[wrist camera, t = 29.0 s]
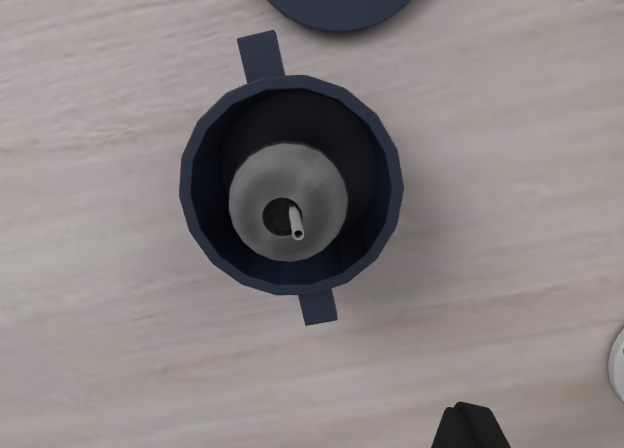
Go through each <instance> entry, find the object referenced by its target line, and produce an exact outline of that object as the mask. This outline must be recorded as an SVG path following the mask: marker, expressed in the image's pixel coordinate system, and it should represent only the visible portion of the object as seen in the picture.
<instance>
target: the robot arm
mask: <svg viewBox="0 0 624 448" xmlns="http://www.w3.org/2000/svg"><path fill="white" fill-rule="evenodd" d="M608 374H609V380H610V383H611V385H612V387H613V390H614V391H615V393H616V394H617V396H618V397H619V398H620V399H621V400H622V402H623V403H624V328H623V330H622V331H621V332H620V333H619V335H618V336H617V338H616V340H615V342H614V344H613V346H612V348H611V352H610V355H609V360H608ZM431 448H511V447H510V445H509V443H508V441H507V439H506V437H505V436H504V434H503V432H502V430H501V428H500V426H499V424H498V422H497V420H496V419H495V417H494V415H493V413H492V411H491V410H490V409H489V408H487V407H483V406H478V405H474V404H469V403H465V402H457V403H456V405H455V406H454V408H451V407H448V408H446V409H445V411H444V413H443V416H442V419H441V422H440V425H439V427H438V430H437V433H436V436H435V438H434V441H433V444H432V447H431Z"/></svg>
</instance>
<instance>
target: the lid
mask: <svg viewBox="0 0 624 448" xmlns="http://www.w3.org/2000/svg"><path fill="white" fill-rule="evenodd" d="M268 1H269V2H270V3H271V4H272V5H273V6H274V7H275V8H277V9H278V10H279V11H280V12H282V13H283V14H284V15H286V16H287V17H289V18H291V19H292V20H294V21H296V22H298V23H300V24H302V25H305V26H307V27H310V28H314V29H317V30H321V31H330V32H349V31H355V30H361V29H364V28H368V27H371V26H374V25H376V24H378V23H380V22H382V21H385V20H386V19H388V18H390V17H391V16H393V15H394V14H396V13H398V12H399V11H400V10H401V9H402V8H404V7H405V6H406V5H407V4H408V3H409V2H410V1H411V0H268Z"/></svg>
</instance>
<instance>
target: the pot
mask: <svg viewBox="0 0 624 448" xmlns="http://www.w3.org/2000/svg"><path fill="white" fill-rule="evenodd" d="M237 42H238V46H239V50H240V55H241V59H242V63H243V67H244V71H245V75H246V80H247V83H248V84H245V85H243V86H241V87H239V88H236V89H234V90H232V91H229V92H227V93H226V94H224V95H223V96H222V97H221V98H220V99H219V100H218V101H217V102H216V103H215V104H214V105H213V106H212V107H211V108H210V109H209V110H208V111H207V112H206V113H205V114H204V115H203V116H202V117H201V118H200V119H199V120H198V122H197V124H196V126H195V128H194V130H193V133H192V135H191V137H190V139H189V141H188V144H187V146H186V148H185V150H184V153H183V155H182V158H181V173H180V189H179V195H180V196H179V198H180V201H181V204H182V208H183V211H184V215H185V218H186V221H187V225H188V228H189V231H190V233H191V234H192V236H193V237H194V239H195V240H196V241H197V243H198V244H199V246H200V247H201V248H202V250H203V251H204V253H205V254H206V255H207V257H208V258H209V260H210V261H211V262H212V263H213V264H214V265H215V266H217V267H218V268H219V269H221V270H222V271H224V272H225V273H226V274H228V275H229V276H231V277H232V278H233V279H235V280H236V281H238V282H239V283H240V284H242V285H245V286H248V287H251V288H255V289H258V290H261V291H264V292H268V293H271V294H274V295H298V297H299V301H300V305H301V309H302V313H303V318H304V322H305V325H306V326H308V325H313V324H319V323H324V322H330V321H335V320H337V319H338V317H337V310H336V305H335V301H334V296H333V292H332V288H334V287H336V286H339V285H342V284H345V283H348V282H349V281H350V280H352V279H353V278H354V277H355V276H357V275H358V274H359V273H360V272H361V271H363V270H364V269H365V268H366V267H368V266H369V265H370V264H371V263H372V262H374V261H375V260H376V259H377V258H378V256H379V255H380V253H381V251H382V250H383V248H384V246H385V245H386V243H387V241H388V240H389V238H390V236H391V235H392V233H393V232H394V230H395V228H396V226H397V222H398V217H399V212H400V207H401V201H402V196H403V191H404V186H403V180H402V174H401V168H400V162H399V156H398V151H397V148H396V146H395V145H394V143H393V141H392V140H391V138H390V136H389V134H388V133H387V131H386V129H385V127H384V126H383V124H382V122H381V120H380V119H379V117H378V116H377V114H376V113H375V112H373V111H372V110H371V109H370V108H369V107H367V106H366V105H365V104H364V103H362V102H361V101H360V100H359V99H358V98H356V97H355V96H354V95H353V94H352V93H350V92H349V91H348V90H347V89H345V88H343V87H340V86H337V85H334V84H331V83H328V82H325V81H322V80H319V79H316V78H313V77H310V76H307V75H306V76H305V75H290V76H285V72H284V67H283V63H282V58H281V54H280V49H279V45H278V40H277V35H276V32H275V31H274V30H271V31H267V32H262V33H258V34H254V35H250V36H246V37H241V38H238V39H237ZM283 140H287V141H296V142H304V143H306V144H309V145H311V146H313V147H315V148H318V149H320V150H322V151H323V152H324V153H325V154H326V155H327V156H328V157H330V158H331V159H332V160H333V161H334V162H335V163H336V164H337V166H338V168H339V170H340V171H341V173H342V175H343V177H344V178H345V180H346V185H347V190H348V195H349V203H348V211H347V217H346V219H345V221H344V224H343V226H342V228H341V230H340V232H339V234H338V235H337V236H336V237H335V238H334V239H333V240H332V241H331V242H330V243H329V244H328V245H327V246H326V247H325V248H324V250H322V251H320V252H319V253H317V254H315V255H313V256H311V257H309V258H307V259H302V260H297V261H292V262H287V261H278V260H272V259H269V258H267V257H265V256H262V255H260V254H258V253H256V252H255V251H254V250H252V249H251V248H250V247H249V246H248V245H246V244H245V243H244V242H243V241H242V239H241V238H240V236H239V235H238V233H237V231H236V230H235V228H234V227H233V223H232V219H231V215H230V212H229V194H230V184H231V182H232V179H233V177H234V174H235V172H236V169H237V168H238V166H239V165H240V164H241V163H242V162H243V161H244V159H245V158H246V157H247V156H248V155H249V154H250V153H252V152H253V151H255V150H257V149H258V148H260V147H262V146H263V145H265V144H269V143H274V142H279V141H283Z"/></svg>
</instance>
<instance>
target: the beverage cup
mask: <svg viewBox="0 0 624 448" xmlns="http://www.w3.org/2000/svg"><path fill="white" fill-rule="evenodd" d="M348 203H349V195H348V190H347V185H346V180H345V178H344V177H343V175H342V173H341V171H340V170H339V168H338V166H337V164H336V163H335V162H334V161H333V160H332V159H331V158H330V157H328V156H327V155H326V154H325V153H324V152H323V151H322V150H320V149H318V148H315V147H313V146H311V145H309V144H306V143H304V142H296V141H287V140H283V141H279V142H274V143H269V144H265V145H263V146H262V147H260V148H258V149H257V150H255V151H253V152H252V153H250V154H249V155H248V156H247V157H246V158H245V159H244V161H243V162H242V163H241V164H240V165H239V166H238V168H237V169H236V172H235V174H234V177H233V179H232V182H231V184H230V194H229V212H230V215H231V219H232V223H233V227H234V228H235V230H236V231H237V233H238V235H239V236H240V238H241V239H242V241H243V242H244V243H245V244H246V245H248V246H249V247H250V248H251V249H252V250H254V251H255V252H256V253H258V254H260V255H262V256H265V257H267V258H269V259H272V260H278V261H287V262H292V261H297V260H302V259H307V258H309V257H311V256H313V255H315V254H317V253H319V252H320V251H322V250H324V248H325V247H326V246H327V245H328V244H329V243H330V242H331V241H332V240H333V239H334V238H335V237H336V236H337V235H338V234H339V232H340V230H341V228H342V226H343V224H344V221H345V219H346V217H347V211H348Z"/></svg>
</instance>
